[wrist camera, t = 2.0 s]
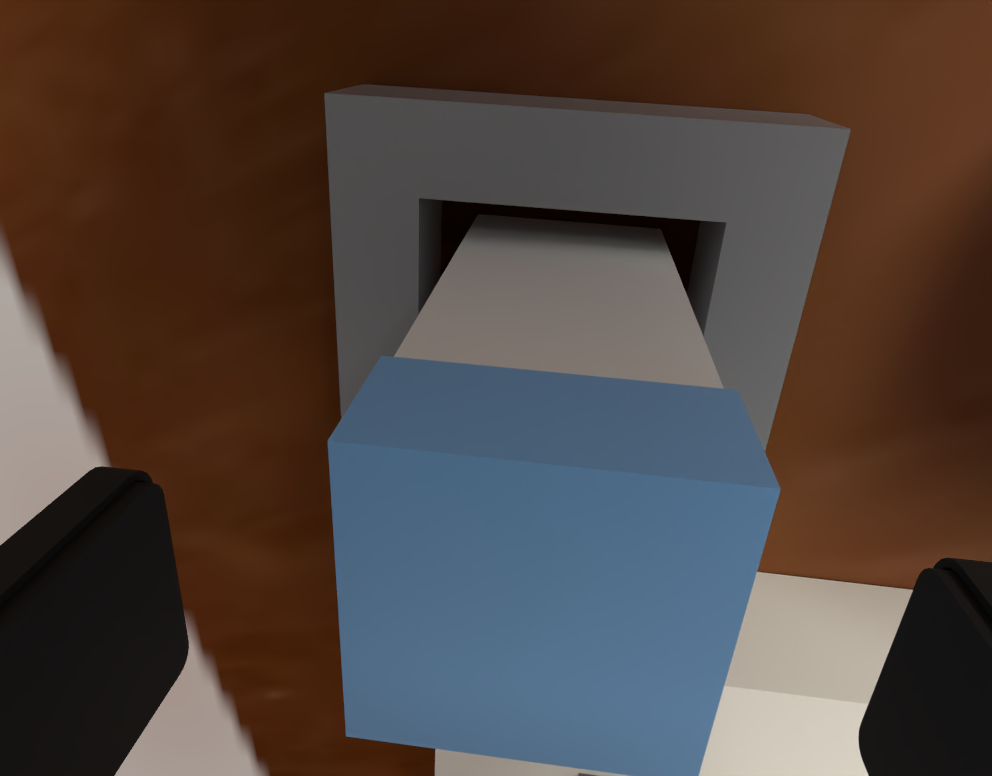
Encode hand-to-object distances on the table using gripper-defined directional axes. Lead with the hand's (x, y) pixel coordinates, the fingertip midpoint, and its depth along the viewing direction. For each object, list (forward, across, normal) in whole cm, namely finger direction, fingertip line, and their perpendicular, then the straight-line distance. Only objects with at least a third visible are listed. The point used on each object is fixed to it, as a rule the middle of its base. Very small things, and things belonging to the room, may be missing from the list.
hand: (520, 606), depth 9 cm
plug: (+9, 0, -1) cm, 9 cm away
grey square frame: (+9, 0, -1) cm, 9 cm away
